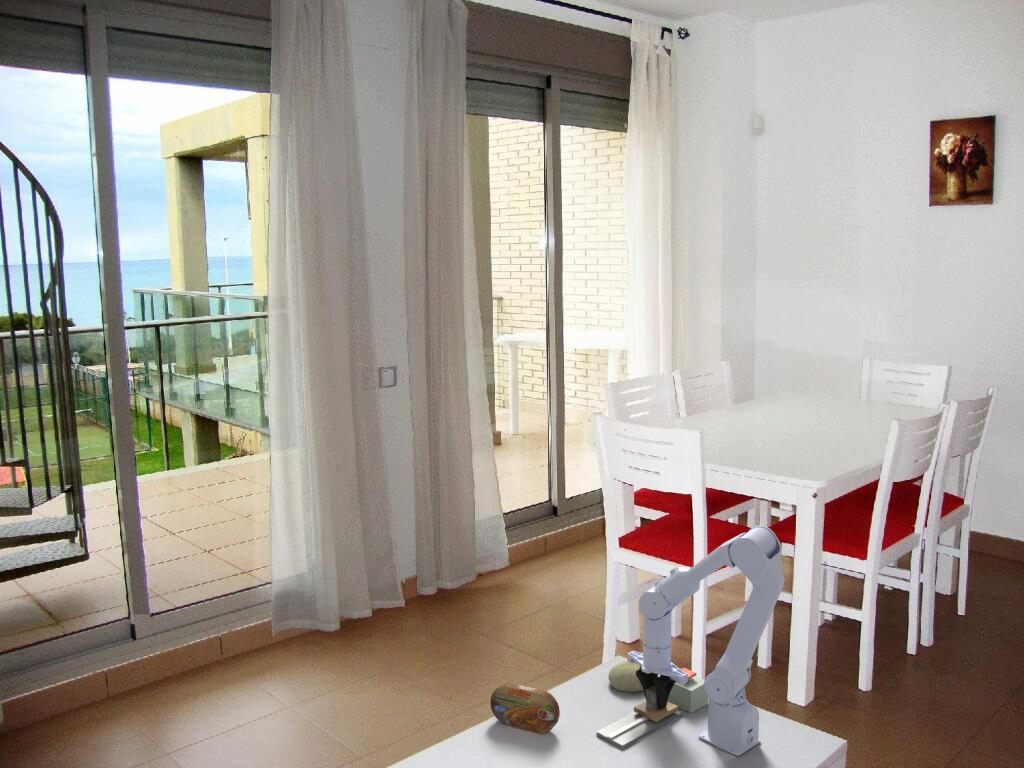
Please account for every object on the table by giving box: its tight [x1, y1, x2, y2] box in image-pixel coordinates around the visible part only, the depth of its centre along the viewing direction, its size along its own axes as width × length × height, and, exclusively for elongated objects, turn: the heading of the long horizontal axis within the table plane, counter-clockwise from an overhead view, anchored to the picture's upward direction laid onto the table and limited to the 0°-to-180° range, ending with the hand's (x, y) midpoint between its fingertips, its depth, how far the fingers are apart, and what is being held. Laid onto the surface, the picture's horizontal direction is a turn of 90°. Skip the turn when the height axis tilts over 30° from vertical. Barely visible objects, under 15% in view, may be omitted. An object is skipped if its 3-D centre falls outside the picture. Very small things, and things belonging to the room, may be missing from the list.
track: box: [596, 709, 684, 750], centre depth 187 cm, size 7×19×1 cm, turn 132°
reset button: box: [680, 667, 697, 684], centre depth 196 cm, size 3×3×2 cm
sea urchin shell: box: [607, 661, 643, 693], centre depth 204 cm, size 9×8×8 cm
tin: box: [490, 682, 561, 735], centre depth 187 cm, size 15×3×8 cm, turn 62°
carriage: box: [633, 685, 679, 722], centre depth 190 cm, size 6×7×5 cm
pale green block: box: [668, 675, 709, 714], centre depth 196 cm, size 8×6×5 cm
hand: (656, 704), depth 190 cm, fingers closed on carriage, 2 cm apart
